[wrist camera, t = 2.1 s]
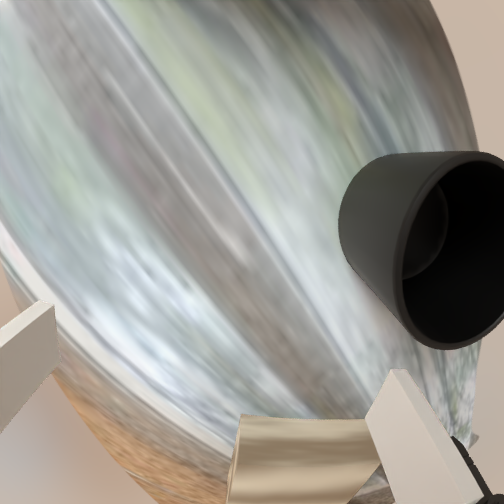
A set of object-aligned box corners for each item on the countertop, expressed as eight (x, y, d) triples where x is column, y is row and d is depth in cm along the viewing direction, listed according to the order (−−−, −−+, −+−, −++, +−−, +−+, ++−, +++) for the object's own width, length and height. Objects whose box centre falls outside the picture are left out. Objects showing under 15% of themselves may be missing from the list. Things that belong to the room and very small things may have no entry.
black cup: (476, 254, 20) (551, 294, 11) (351, 301, 21) (400, 379, 12) (461, 139, 17) (548, 137, 8) (320, 171, 18) (373, 174, 10)
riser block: (241, 412, 24) (238, 463, 18) (364, 417, 24) (381, 462, 19) (227, 475, 27) (224, 516, 22) (327, 478, 28) (334, 516, 22)
